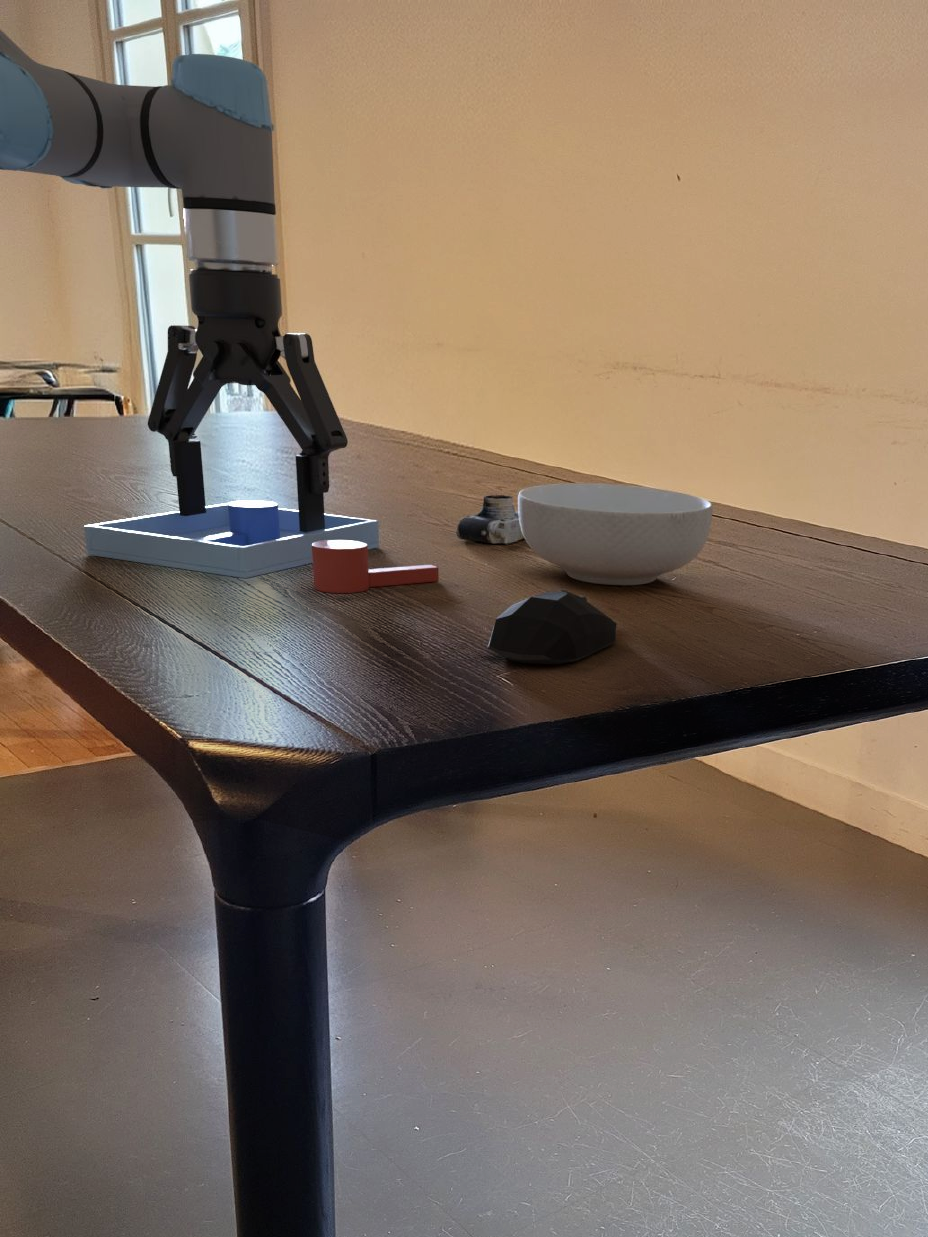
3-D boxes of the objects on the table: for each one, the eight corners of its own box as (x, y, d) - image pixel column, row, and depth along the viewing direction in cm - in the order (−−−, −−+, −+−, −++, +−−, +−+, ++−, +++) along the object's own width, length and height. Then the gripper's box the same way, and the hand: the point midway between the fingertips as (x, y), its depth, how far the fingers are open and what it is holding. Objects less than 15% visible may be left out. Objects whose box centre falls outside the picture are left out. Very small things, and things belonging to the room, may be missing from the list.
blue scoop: (252, 536, 122) (249, 498, 121) (290, 542, 121) (288, 503, 119) (171, 552, 113) (167, 511, 112) (211, 558, 112) (208, 516, 110)
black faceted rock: (652, 632, 96) (654, 578, 94) (551, 675, 84) (552, 613, 82) (577, 620, 98) (579, 567, 97) (469, 660, 86) (469, 600, 84)
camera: (551, 534, 135) (552, 493, 133) (495, 547, 126) (495, 503, 124) (510, 528, 137) (511, 487, 135) (453, 541, 128) (452, 497, 127)
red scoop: (327, 595, 103) (325, 550, 101) (305, 584, 106) (302, 541, 104) (447, 584, 109) (447, 542, 107) (423, 575, 112) (422, 534, 110)
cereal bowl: (551, 599, 105) (552, 510, 102) (494, 562, 119) (494, 482, 116) (739, 593, 111) (745, 508, 108) (664, 558, 125) (668, 482, 122)
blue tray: (87, 554, 113) (83, 525, 112) (234, 527, 129) (232, 502, 128) (245, 578, 107) (243, 547, 106) (379, 547, 123) (378, 520, 122)
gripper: (382, 276, 109) (389, 531, 118) (152, 265, 118) (174, 503, 127) (328, 272, 103) (339, 542, 111) (89, 260, 112) (116, 512, 120)
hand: (251, 522), depth 119 cm, fingers open, 13 cm apart
